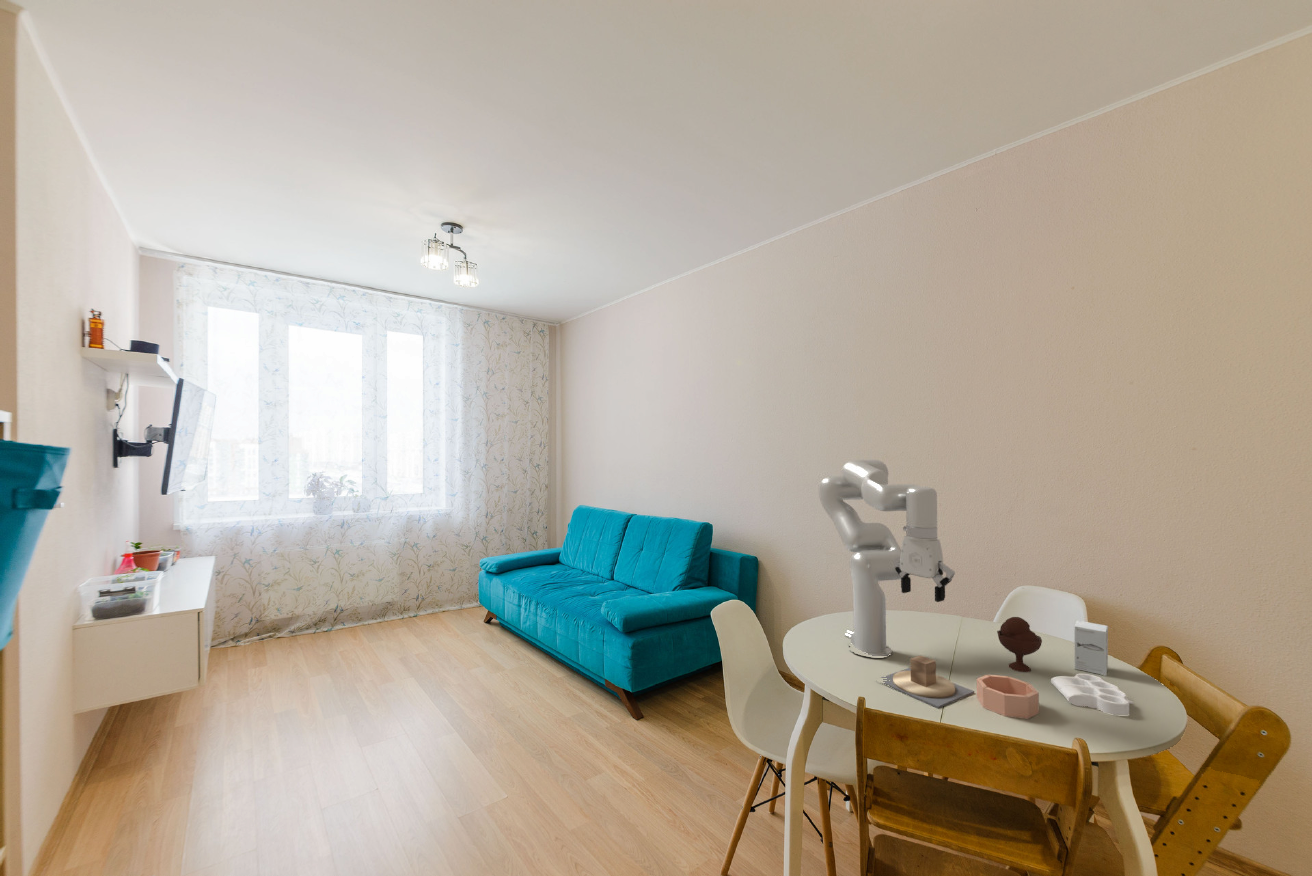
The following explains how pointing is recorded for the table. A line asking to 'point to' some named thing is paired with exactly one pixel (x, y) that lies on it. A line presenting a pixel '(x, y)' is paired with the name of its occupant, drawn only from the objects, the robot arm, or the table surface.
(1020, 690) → the terracotta bowl
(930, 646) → the table surface
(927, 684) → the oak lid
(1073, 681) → the white holed part
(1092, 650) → the supplement box
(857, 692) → the table surface
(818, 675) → the table surface
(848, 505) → the robot arm
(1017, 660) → the ice cream bowl
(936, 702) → the rubber mat
